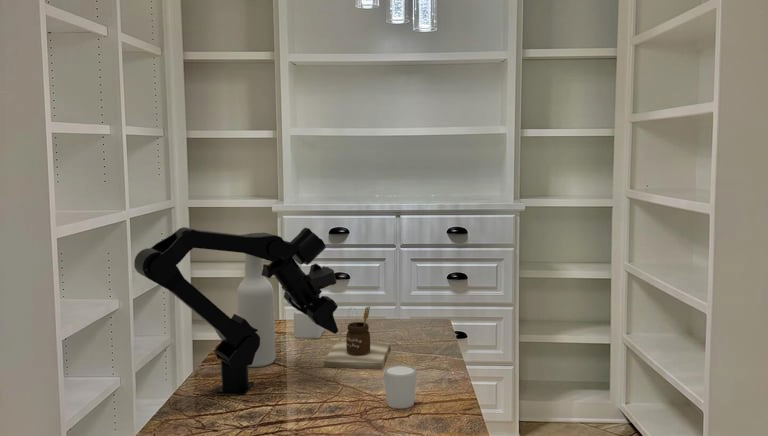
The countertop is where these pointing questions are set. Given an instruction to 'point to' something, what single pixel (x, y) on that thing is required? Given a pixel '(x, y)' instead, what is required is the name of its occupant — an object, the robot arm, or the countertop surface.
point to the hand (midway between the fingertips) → (328, 326)
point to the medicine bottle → (306, 326)
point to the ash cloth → (357, 356)
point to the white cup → (400, 386)
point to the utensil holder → (358, 336)
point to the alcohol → (258, 309)
